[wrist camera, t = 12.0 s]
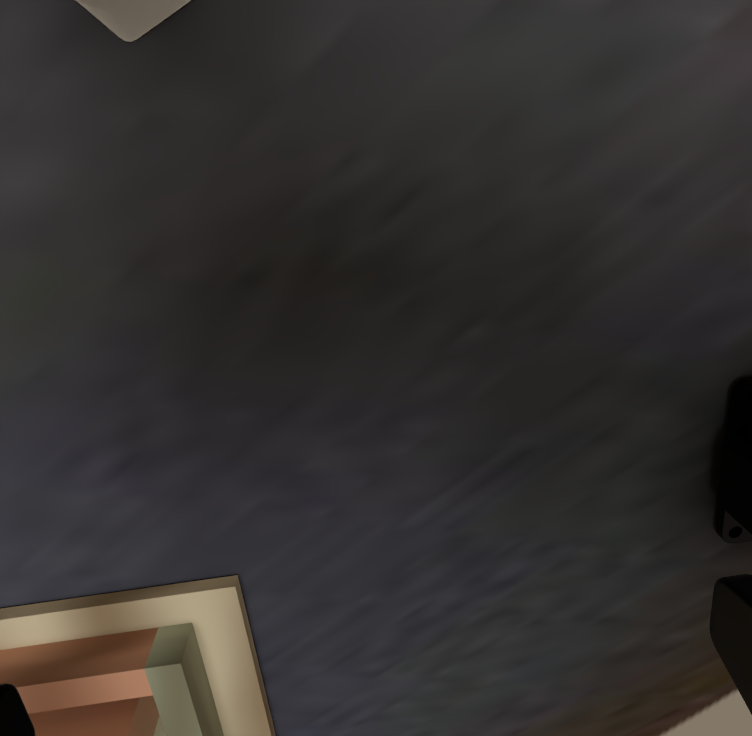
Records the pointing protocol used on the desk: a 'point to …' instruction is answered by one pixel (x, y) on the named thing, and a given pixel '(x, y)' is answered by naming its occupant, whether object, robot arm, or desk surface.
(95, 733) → the banded block
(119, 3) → the perfume bottle
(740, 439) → the robot arm
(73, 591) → the desk surface
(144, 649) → the slot holder
